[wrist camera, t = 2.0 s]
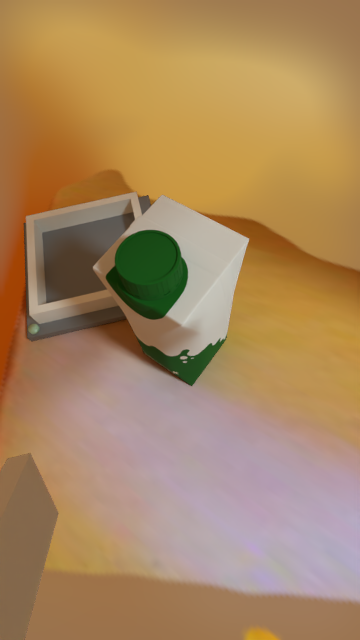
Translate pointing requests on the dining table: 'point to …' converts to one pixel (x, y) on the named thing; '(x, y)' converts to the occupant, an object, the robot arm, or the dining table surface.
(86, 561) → the dining table surface
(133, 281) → the soya milk
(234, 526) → the dining table surface
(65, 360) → the dining table surface
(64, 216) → the dock
